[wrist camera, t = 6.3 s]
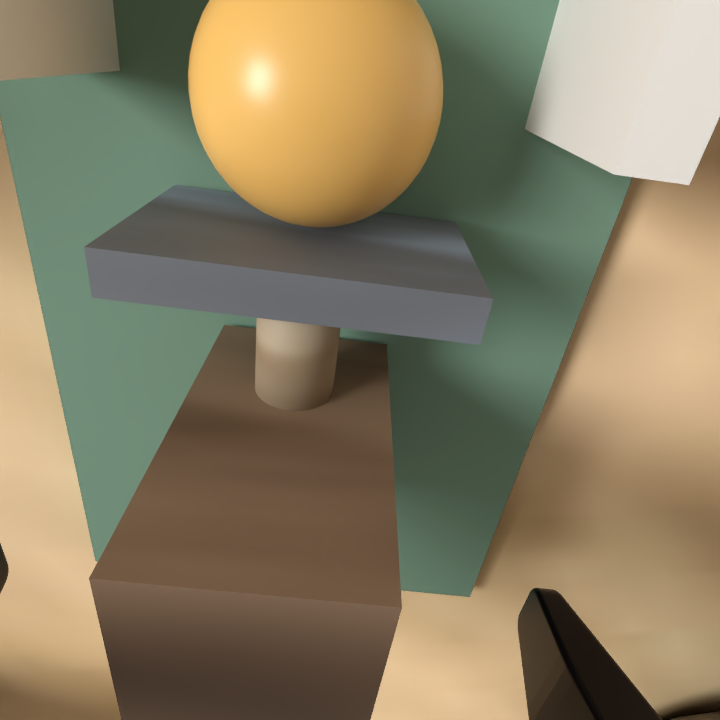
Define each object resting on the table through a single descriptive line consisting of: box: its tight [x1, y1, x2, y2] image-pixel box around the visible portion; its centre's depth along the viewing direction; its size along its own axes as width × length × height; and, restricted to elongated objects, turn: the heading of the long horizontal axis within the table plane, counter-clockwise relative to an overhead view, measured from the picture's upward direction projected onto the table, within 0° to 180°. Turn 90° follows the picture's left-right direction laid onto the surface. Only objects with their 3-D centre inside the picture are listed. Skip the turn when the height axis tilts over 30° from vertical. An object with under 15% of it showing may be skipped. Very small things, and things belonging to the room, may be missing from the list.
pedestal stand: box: [84, 185, 493, 720], centre depth 10 cm, size 7×6×7 cm
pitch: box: [0, 0, 633, 597], centre depth 13 cm, size 21×13×1 cm, turn 173°
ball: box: [188, 0, 443, 228], centre depth 8 cm, size 4×4×4 cm
